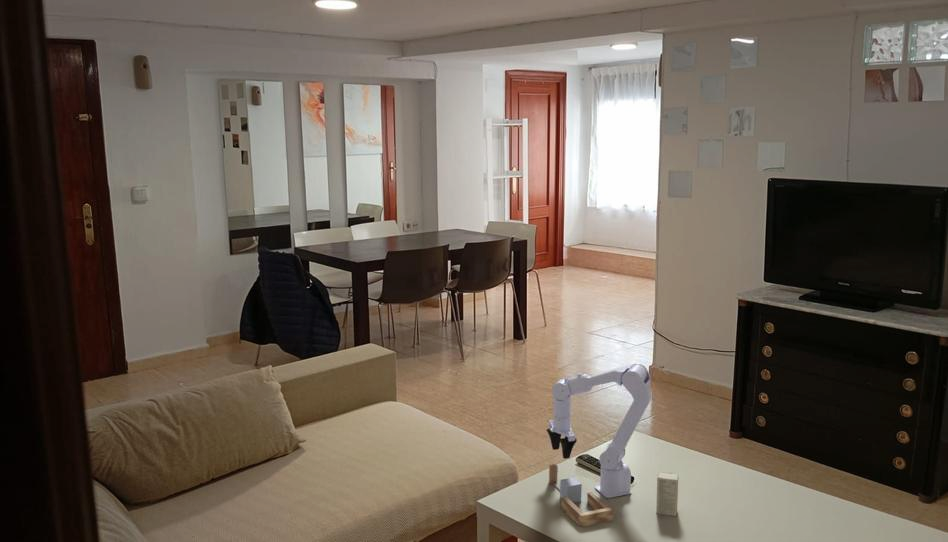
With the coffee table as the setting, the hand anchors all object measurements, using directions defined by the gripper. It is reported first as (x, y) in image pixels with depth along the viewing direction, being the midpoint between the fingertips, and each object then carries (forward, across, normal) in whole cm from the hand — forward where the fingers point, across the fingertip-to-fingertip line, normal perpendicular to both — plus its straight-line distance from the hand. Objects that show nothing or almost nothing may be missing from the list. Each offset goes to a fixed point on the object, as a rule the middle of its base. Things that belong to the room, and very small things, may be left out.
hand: (561, 453), depth 257 cm
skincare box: (+10, +31, +21) cm, 39 cm away
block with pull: (+10, +7, -3) cm, 13 cm away
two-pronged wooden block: (+10, +22, -3) cm, 25 cm away
